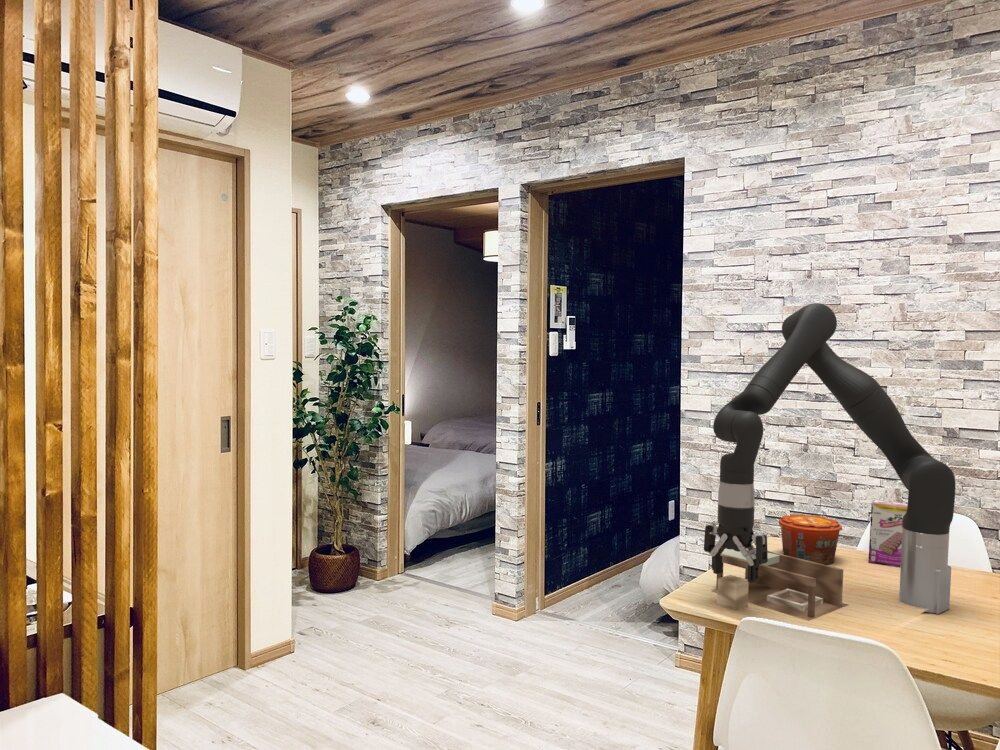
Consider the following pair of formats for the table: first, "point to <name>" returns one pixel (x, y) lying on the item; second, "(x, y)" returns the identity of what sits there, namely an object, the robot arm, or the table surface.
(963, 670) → the table surface
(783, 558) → the brown wooden frame
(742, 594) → the birch block
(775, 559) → the sliding cover
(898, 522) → the candy bar box
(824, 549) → the food container
